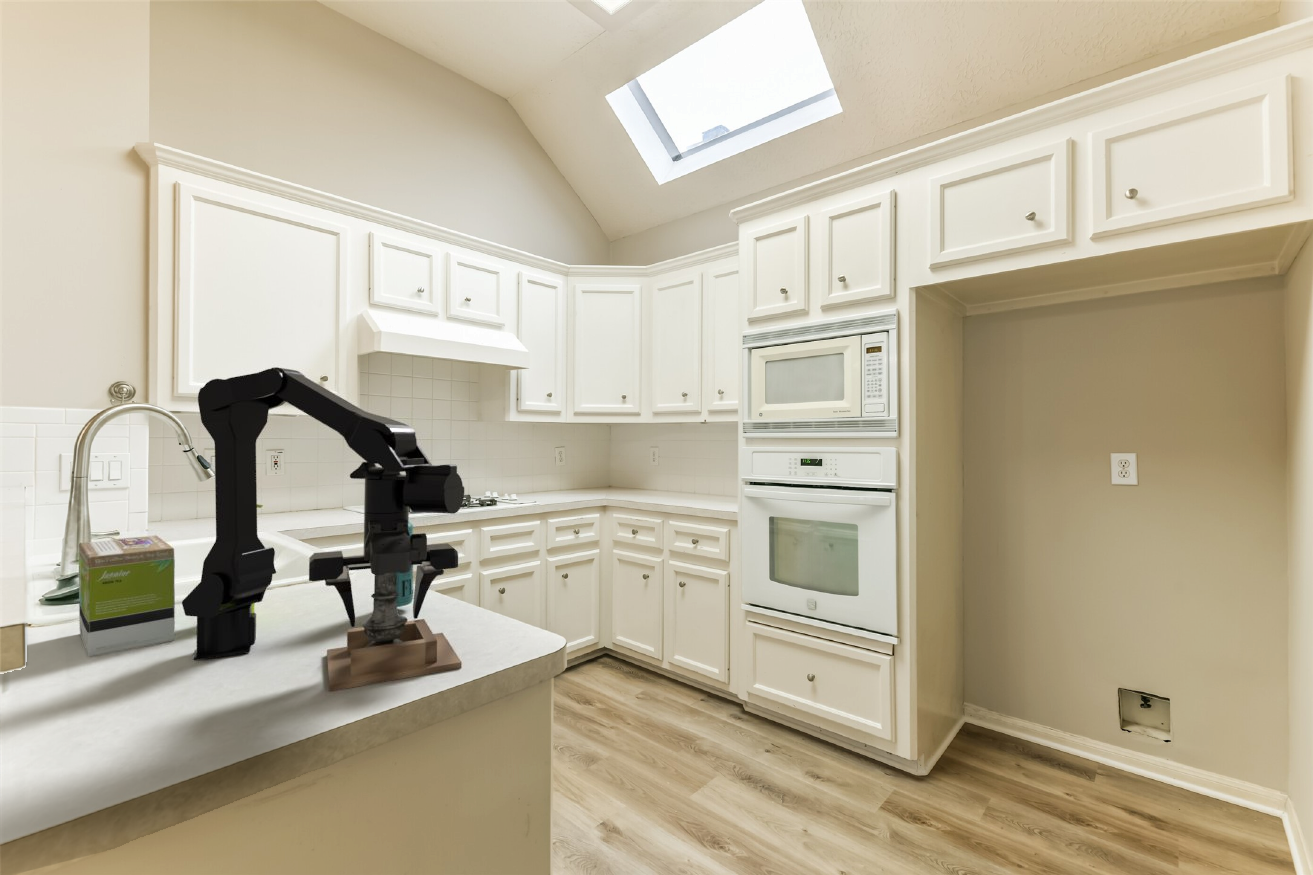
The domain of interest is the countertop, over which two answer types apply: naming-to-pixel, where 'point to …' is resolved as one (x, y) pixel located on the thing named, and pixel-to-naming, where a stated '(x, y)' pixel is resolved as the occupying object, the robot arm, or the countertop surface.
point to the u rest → (389, 657)
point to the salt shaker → (384, 613)
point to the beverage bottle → (405, 582)
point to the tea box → (126, 594)
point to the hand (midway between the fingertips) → (384, 621)
